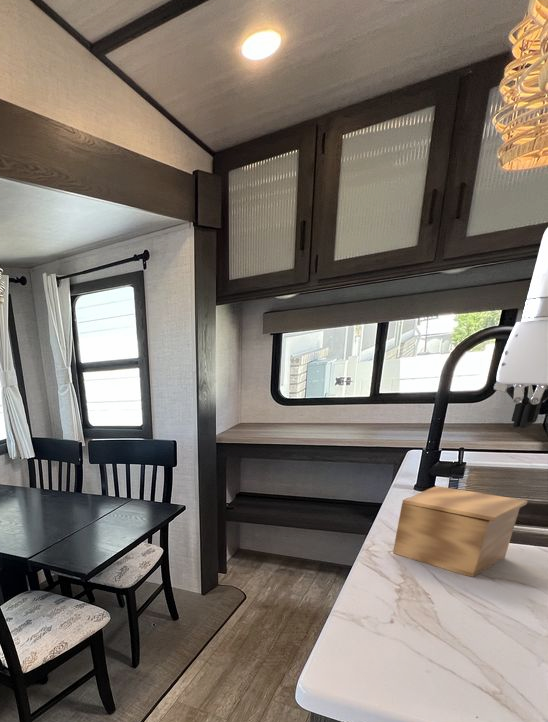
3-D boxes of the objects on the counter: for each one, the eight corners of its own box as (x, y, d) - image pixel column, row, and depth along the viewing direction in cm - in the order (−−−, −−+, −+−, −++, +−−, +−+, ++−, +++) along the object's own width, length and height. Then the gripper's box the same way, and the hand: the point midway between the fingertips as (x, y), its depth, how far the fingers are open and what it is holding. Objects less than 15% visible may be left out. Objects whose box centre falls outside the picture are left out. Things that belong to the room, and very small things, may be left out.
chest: (504, 558, 98) (520, 505, 94) (472, 577, 92) (487, 521, 88) (425, 537, 111) (435, 489, 106) (392, 553, 105) (402, 503, 100)
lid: (526, 504, 93) (527, 500, 92) (494, 521, 87) (495, 517, 86) (435, 489, 106) (436, 485, 106) (402, 503, 100) (402, 499, 100)
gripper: (629, 302, 70) (588, 427, 77) (508, 313, 82) (482, 420, 89) (611, 305, 67) (569, 434, 74) (487, 315, 79) (462, 426, 86)
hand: (522, 426), depth 82 cm, fingers closed
